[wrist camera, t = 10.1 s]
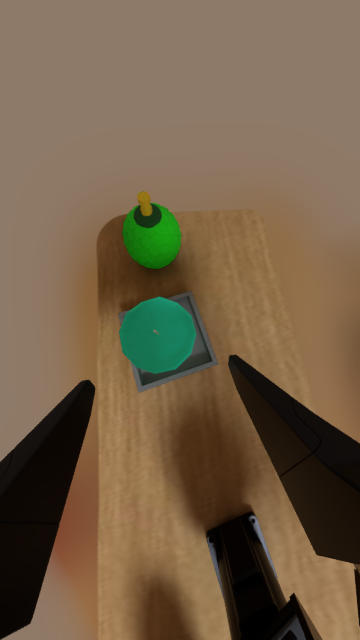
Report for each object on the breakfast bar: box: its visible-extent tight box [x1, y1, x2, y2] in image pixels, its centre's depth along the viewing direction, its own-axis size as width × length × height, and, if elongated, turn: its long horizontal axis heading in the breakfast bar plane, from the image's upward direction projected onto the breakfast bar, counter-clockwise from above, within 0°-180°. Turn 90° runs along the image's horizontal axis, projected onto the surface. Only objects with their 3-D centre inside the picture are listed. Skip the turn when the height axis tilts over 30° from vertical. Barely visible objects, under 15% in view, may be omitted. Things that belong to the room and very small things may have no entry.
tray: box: [118, 291, 218, 392], centre depth 21 cm, size 11×11×2 cm
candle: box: [119, 297, 196, 374], centre depth 15 cm, size 6×6×12 cm
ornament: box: [122, 192, 181, 269], centre depth 20 cm, size 8×8×10 cm
